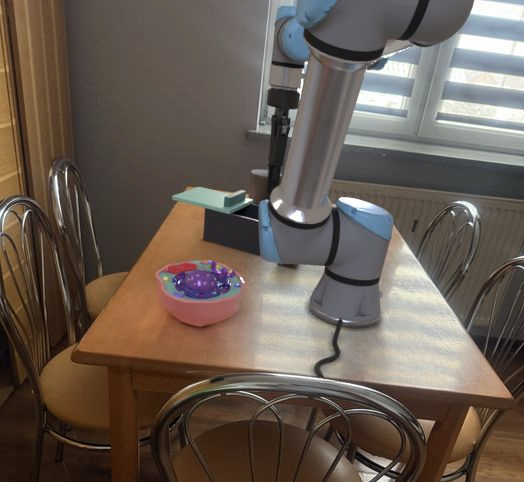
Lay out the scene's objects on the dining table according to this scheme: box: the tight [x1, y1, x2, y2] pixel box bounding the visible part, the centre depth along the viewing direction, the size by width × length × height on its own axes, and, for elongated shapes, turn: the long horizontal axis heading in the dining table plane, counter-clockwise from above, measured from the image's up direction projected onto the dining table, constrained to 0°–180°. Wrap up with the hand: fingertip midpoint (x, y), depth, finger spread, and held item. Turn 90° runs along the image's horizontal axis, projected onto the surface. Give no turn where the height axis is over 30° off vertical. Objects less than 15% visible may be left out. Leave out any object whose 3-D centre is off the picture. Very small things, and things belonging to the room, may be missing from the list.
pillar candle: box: [247, 169, 283, 205], centre depth 159 cm, size 10×10×15 cm
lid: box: [171, 186, 253, 214], centre depth 138 cm, size 14×17×4 cm
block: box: [277, 263, 299, 269], centre depth 129 cm, size 4×4×4 cm
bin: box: [202, 204, 261, 256], centre depth 139 cm, size 14×17×9 cm
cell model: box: [154, 259, 246, 328], centre depth 97 cm, size 17×20×11 cm
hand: (271, 193), depth 127 cm, fingers closed
